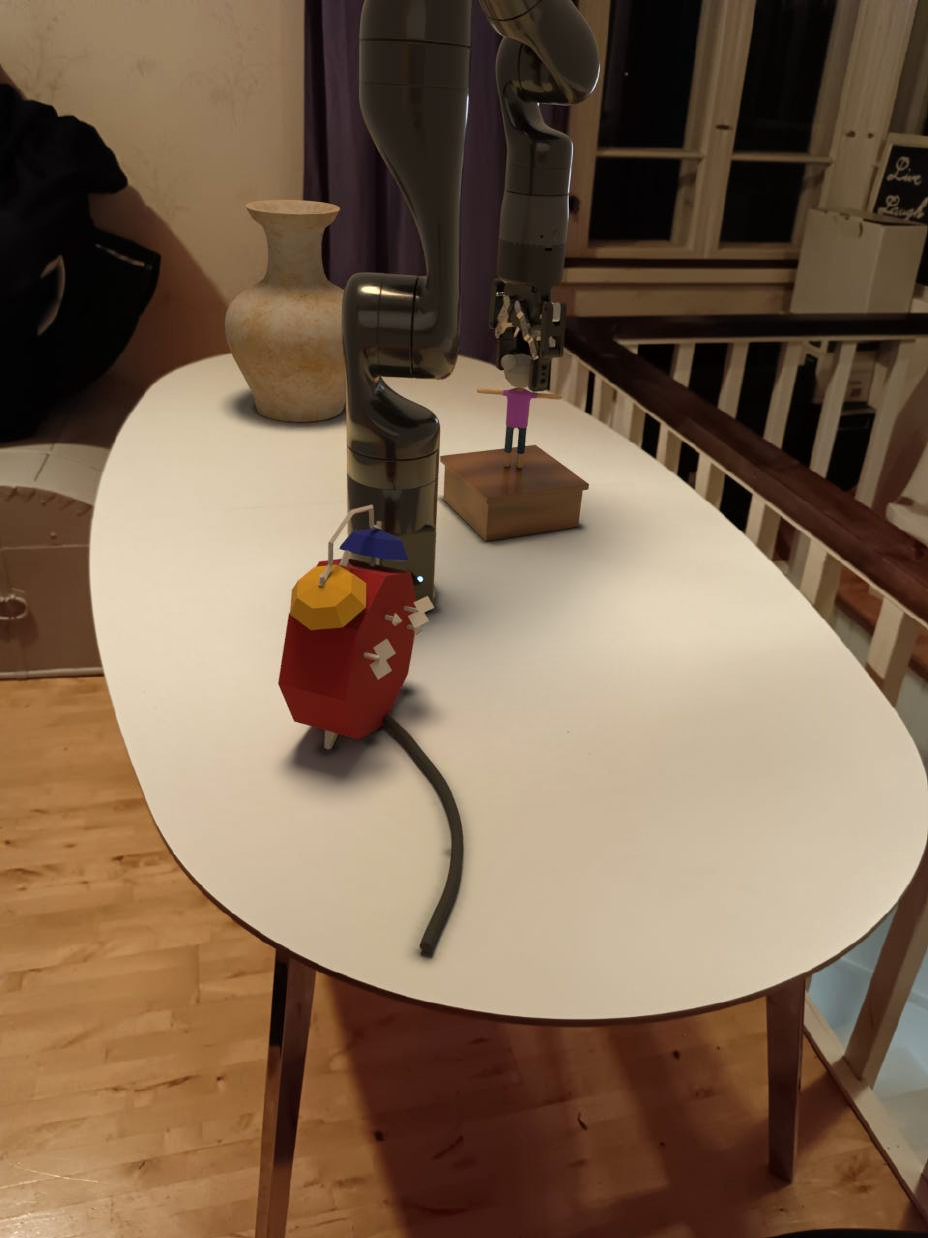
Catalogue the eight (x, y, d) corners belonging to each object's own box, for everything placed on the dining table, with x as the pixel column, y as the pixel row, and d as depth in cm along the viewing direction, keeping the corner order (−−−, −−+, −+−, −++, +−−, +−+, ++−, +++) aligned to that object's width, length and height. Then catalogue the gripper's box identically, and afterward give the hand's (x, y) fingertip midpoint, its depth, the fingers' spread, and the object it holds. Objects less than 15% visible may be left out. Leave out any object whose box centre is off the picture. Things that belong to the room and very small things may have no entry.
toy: (554, 465, 122) (567, 347, 114) (553, 481, 117) (566, 360, 110) (473, 457, 123) (480, 340, 115) (469, 474, 118) (476, 353, 110)
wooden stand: (583, 527, 120) (589, 483, 117) (483, 543, 115) (487, 497, 112) (531, 485, 131) (535, 444, 128) (438, 498, 126) (439, 455, 123)
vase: (214, 425, 145) (195, 212, 129) (250, 382, 164) (238, 191, 148) (357, 435, 144) (355, 222, 129) (377, 390, 163) (378, 200, 148)
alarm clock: (357, 665, 91) (355, 469, 81) (441, 687, 89) (451, 488, 79) (280, 756, 79) (267, 539, 69) (375, 783, 77) (376, 564, 67)
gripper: (475, 225, 110) (467, 365, 118) (533, 248, 99) (520, 400, 107) (532, 224, 113) (521, 361, 121) (595, 246, 102) (577, 395, 110)
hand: (520, 379), depth 114 cm, fingers open, 8 cm apart
